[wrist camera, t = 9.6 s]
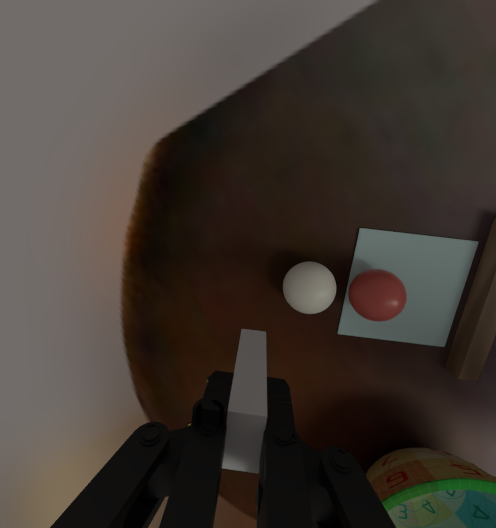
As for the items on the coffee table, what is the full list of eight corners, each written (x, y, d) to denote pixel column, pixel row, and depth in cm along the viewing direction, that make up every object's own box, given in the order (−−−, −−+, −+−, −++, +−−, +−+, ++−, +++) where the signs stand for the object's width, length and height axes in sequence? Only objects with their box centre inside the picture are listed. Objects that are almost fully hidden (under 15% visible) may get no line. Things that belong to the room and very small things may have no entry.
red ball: (345, 260, 32) (389, 264, 33) (334, 305, 33) (376, 308, 35) (376, 277, 26) (427, 281, 27) (361, 330, 28) (410, 332, 29)
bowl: (400, 545, 44) (440, 644, 34) (297, 474, 41) (309, 559, 31) (514, 465, 39) (598, 554, 29) (406, 379, 36) (460, 445, 26)
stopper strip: (516, 219, 31) (538, 221, 28) (463, 369, 35) (478, 381, 33) (494, 216, 31) (514, 218, 28) (444, 367, 35) (458, 379, 33)
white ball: (281, 252, 32) (327, 257, 33) (272, 297, 34) (315, 299, 35) (299, 270, 26) (353, 275, 27) (287, 323, 28) (338, 325, 29)
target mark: (477, 241, 31) (478, 241, 31) (443, 346, 35) (444, 347, 35) (359, 227, 32) (360, 228, 31) (337, 333, 35) (337, 334, 35)
